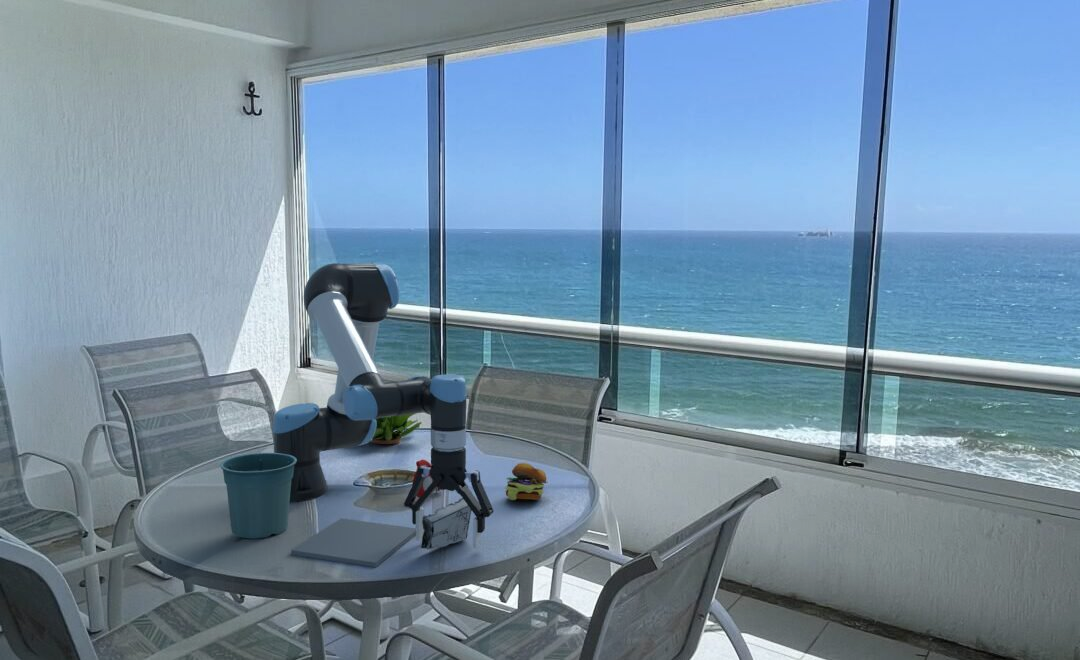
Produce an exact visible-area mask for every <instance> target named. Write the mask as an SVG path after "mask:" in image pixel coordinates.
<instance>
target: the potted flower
mask: <svg viewBox="0 0 1080 660" xmlns="http://www.w3.org/2000/svg"><path fill="white" fill-rule="evenodd" d="M416 414H417V413H415V414H408V415H400V416H391V417H384V418H376V421H377V425H376V431H375V434H374V436H373V438H372V439H371V440H372V443H375V444H377V445H393V444H397V443H400V442H401V441H402V438H403V437H406V436H408V435H409V434H411V433H413V432H414V431H415V430H417V429H418V428H419V426H421V425H422V422H421V421H420V422H418V420H417V419H416V420H413V421H412V420H411V419H410V420H409V418H411V417H412V416H414V415H416Z"/></svg>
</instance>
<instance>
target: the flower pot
mask: <svg viewBox="0 0 1080 660" xmlns="http://www.w3.org/2000/svg"><path fill="white" fill-rule="evenodd" d="M296 462H297V459H296V458H295V457H294V456H291V455H287V454H280V453H274V452H256V453H254V452H253V453H245V454H241V455H236V456H231V457H229V458H226V459H224V460H223V461H221V462H220V464H219V466H220V468H221V470H222V473H223V480H224V484H225V485H226V492H227V493H226V494H227V503H228V510H229V519H230V527H231V529H230V530H231V533H232V535H236V536H237V537H238V538H242V539H243V538H244V539H254V540H255V539H262V538H269V537H270V536H271V535H273V534H274V535H280V534H281V533H283V532H285V531H286V529H287V528H288V523H289V512H290V503H291V501H290V490H291V480H292V478H293V472H294V465H295V464H296Z"/></svg>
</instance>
